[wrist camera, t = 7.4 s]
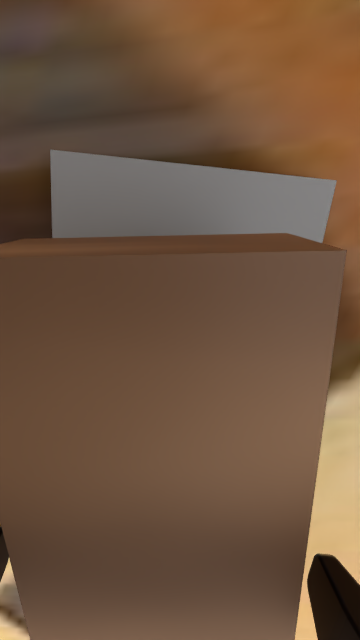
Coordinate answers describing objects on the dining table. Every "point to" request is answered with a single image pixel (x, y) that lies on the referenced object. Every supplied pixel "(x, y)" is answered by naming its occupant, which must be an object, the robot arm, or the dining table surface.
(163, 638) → the shelf board
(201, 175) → the grey base with posts
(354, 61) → the dining table surface
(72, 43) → the dining table surface
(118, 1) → the dining table surface
